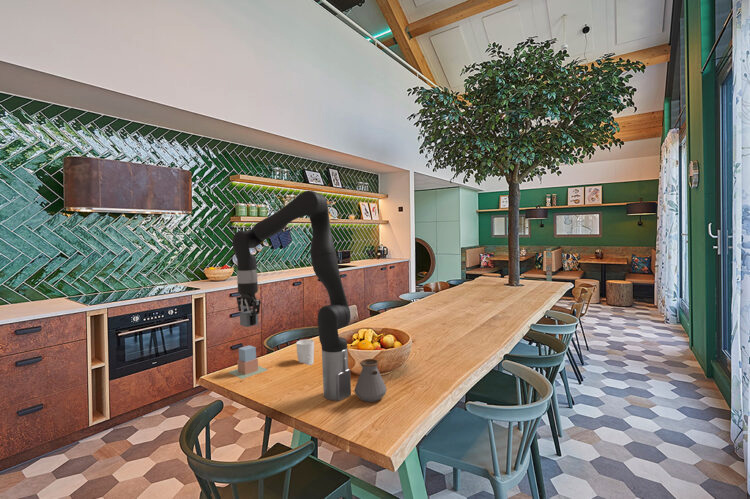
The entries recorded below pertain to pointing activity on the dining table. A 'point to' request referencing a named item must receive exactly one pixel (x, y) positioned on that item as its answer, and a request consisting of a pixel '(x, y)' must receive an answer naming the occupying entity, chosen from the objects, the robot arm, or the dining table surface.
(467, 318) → the dining table surface
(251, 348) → the blue brick
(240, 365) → the base brick
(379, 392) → the coffee pot
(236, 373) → the build plate
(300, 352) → the white cup
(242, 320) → the slate brick
